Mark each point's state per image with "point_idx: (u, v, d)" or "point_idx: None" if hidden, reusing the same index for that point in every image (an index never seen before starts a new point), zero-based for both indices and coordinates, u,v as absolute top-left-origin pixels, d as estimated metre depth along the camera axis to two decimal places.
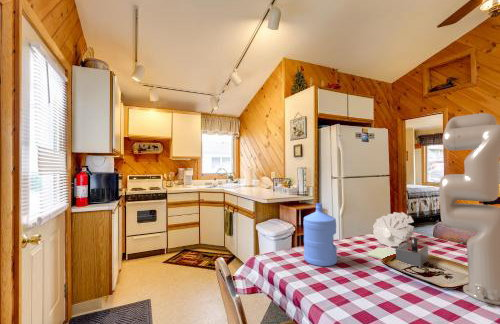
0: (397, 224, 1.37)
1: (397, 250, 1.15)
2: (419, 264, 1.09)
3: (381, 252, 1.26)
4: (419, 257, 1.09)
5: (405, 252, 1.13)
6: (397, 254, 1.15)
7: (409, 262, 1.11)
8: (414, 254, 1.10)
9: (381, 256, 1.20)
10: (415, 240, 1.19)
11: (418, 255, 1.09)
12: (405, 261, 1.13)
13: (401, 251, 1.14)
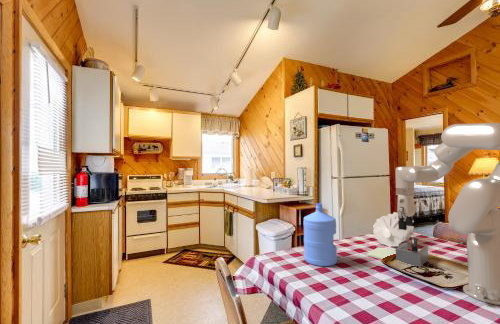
0: (397, 224, 1.37)
1: (397, 250, 1.15)
2: (419, 264, 1.09)
3: (381, 252, 1.26)
4: (419, 257, 1.09)
5: (405, 252, 1.13)
6: (397, 254, 1.15)
7: (409, 262, 1.11)
8: (414, 254, 1.10)
9: (381, 256, 1.20)
10: (415, 240, 1.19)
11: (418, 255, 1.09)
12: (405, 261, 1.13)
13: (401, 251, 1.14)
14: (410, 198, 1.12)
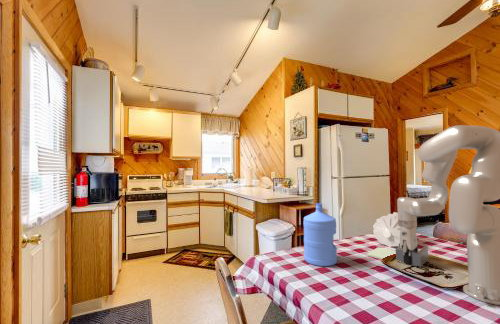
0: (397, 224, 1.37)
1: (397, 250, 1.15)
2: (419, 264, 1.09)
3: (381, 252, 1.26)
4: (419, 257, 1.09)
5: None
6: (397, 254, 1.15)
7: None
8: (414, 254, 1.10)
9: (381, 256, 1.20)
10: None
11: (418, 255, 1.09)
12: None
13: (401, 251, 1.14)
14: (413, 231, 1.10)
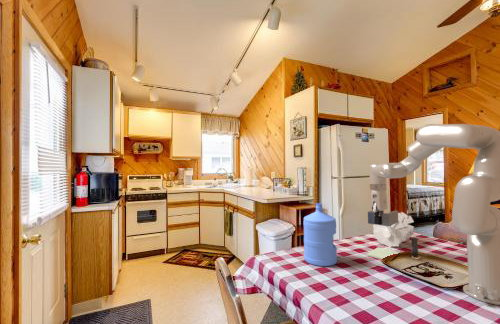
0: (397, 224, 1.37)
1: (369, 213, 1.25)
2: (387, 223, 1.18)
3: (381, 252, 1.26)
4: (387, 217, 1.18)
5: None
6: (369, 216, 1.25)
7: None
8: (383, 215, 1.20)
9: (381, 256, 1.20)
10: (415, 240, 1.19)
11: (387, 215, 1.19)
12: None
13: (372, 213, 1.24)
14: (382, 193, 1.20)
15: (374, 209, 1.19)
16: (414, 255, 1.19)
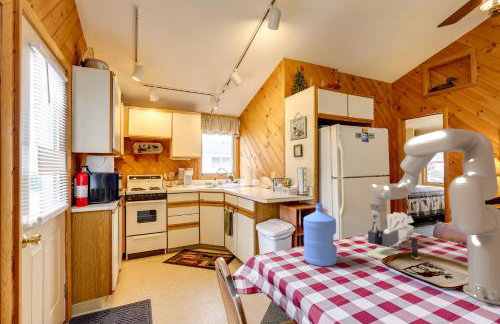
0: (397, 224, 1.37)
1: (369, 232, 1.25)
2: (388, 244, 1.18)
3: (381, 252, 1.26)
4: (388, 238, 1.18)
5: None
6: (369, 236, 1.25)
7: None
8: (384, 235, 1.20)
9: (381, 256, 1.20)
10: (415, 240, 1.19)
11: (387, 236, 1.18)
12: None
13: (373, 233, 1.24)
14: (383, 214, 1.20)
15: (374, 230, 1.18)
16: (414, 255, 1.19)
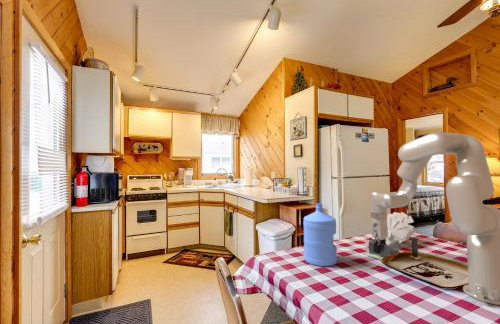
0: (397, 224, 1.37)
1: (370, 243, 1.24)
2: (388, 255, 1.18)
3: None
4: (389, 249, 1.18)
5: None
6: (370, 246, 1.24)
7: (380, 254, 1.20)
8: (384, 246, 1.19)
9: None
10: (415, 240, 1.19)
11: (388, 247, 1.18)
12: (377, 253, 1.22)
13: None
14: (383, 222, 1.19)
15: (374, 235, 1.18)
16: (414, 255, 1.19)
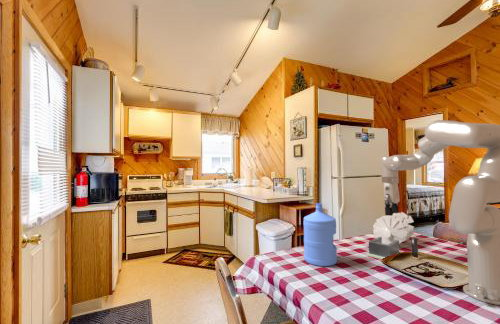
0: (397, 224, 1.37)
1: (370, 243, 1.24)
2: (388, 255, 1.18)
3: None
4: (389, 249, 1.18)
5: (377, 244, 1.22)
6: (370, 246, 1.24)
7: (380, 254, 1.20)
8: (384, 246, 1.19)
9: None
10: (415, 240, 1.19)
11: (388, 247, 1.18)
12: (377, 253, 1.22)
13: (373, 244, 1.23)
14: (395, 186, 1.20)
15: (387, 196, 1.18)
16: (414, 255, 1.19)
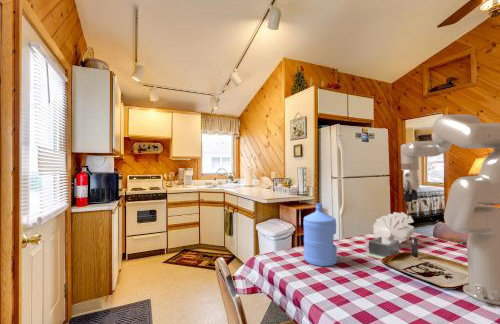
0: (397, 224, 1.37)
1: (370, 243, 1.24)
2: (388, 255, 1.18)
3: None
4: (389, 249, 1.18)
5: (377, 244, 1.22)
6: (370, 246, 1.24)
7: (380, 254, 1.20)
8: (384, 246, 1.19)
9: None
10: (415, 240, 1.19)
11: (388, 247, 1.18)
12: (377, 253, 1.22)
13: (373, 244, 1.23)
14: (415, 172, 1.20)
15: (407, 182, 1.18)
16: (414, 255, 1.19)
